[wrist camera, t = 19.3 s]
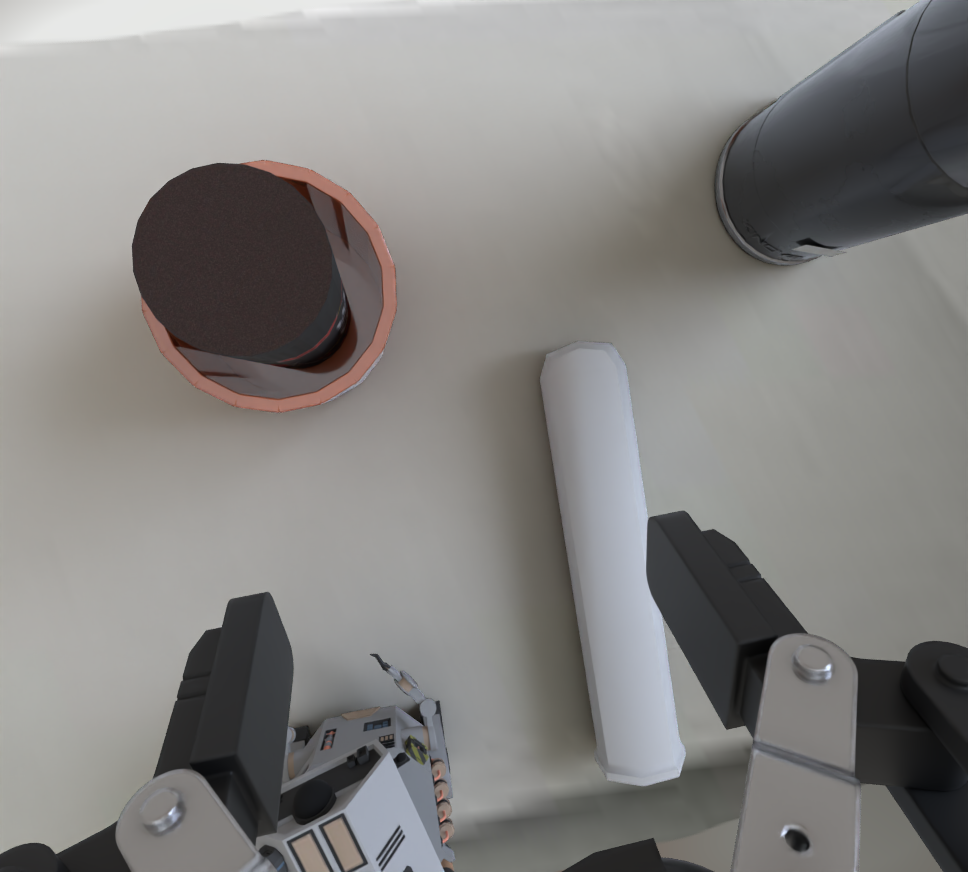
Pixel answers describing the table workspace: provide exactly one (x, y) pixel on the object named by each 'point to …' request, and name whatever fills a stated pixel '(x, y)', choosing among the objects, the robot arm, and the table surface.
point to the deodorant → (241, 267)
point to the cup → (369, 301)
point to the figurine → (366, 793)
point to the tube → (610, 562)
